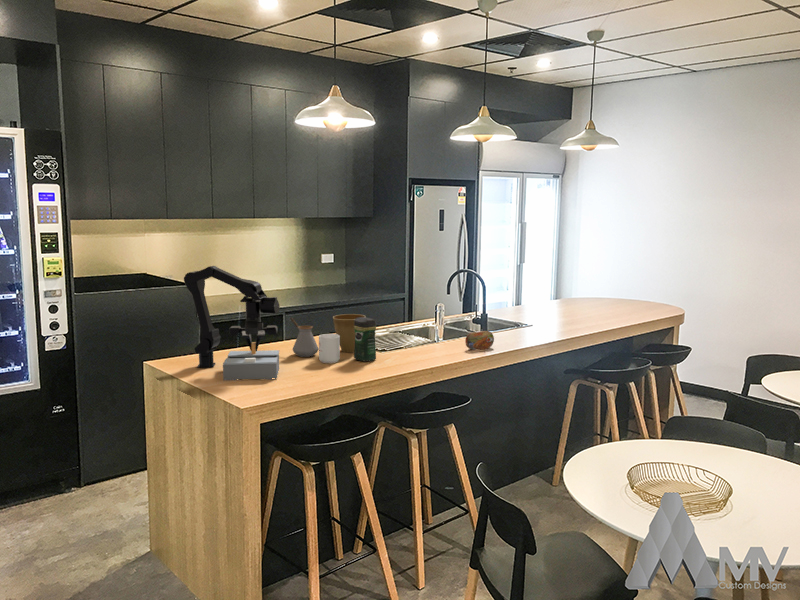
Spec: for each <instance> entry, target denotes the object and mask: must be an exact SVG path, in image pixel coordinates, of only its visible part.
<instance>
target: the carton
mask: <svg viewBox="0 0 800 600" xmlns="http://www.w3.org/2000/svg"><path fill="white" fill-rule="evenodd" d="M275 357H277V363H276V364H237V365H223V364H222V378H223V379H222V380H223V381H238V380H237V379H267V380H273V379H272V378H275V379H274V380H277V379H278V376H277V375H279V372H280V355H278V356H255V357H228V356H227V357H226V358H275ZM278 371H279V372H278ZM276 378H277V379H276Z"/></svg>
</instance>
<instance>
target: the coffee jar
mask: <svg viewBox="0 0 800 600" xmlns="http://www.w3.org/2000/svg"><path fill="white" fill-rule="evenodd" d="M354 329H355V348H354V352H353V358H354V360H357V361H360V362H374V361H375V360H376V359H377V350H376V349H377V348H376V347H377V346H376V331H377V321H376V320H375V319H374V318H370V317H366V316H365V317H359V318H356V319H355V321H354Z"/></svg>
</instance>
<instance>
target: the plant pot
mask: <svg viewBox="0 0 800 600" xmlns="http://www.w3.org/2000/svg"><path fill="white" fill-rule="evenodd" d="M359 317H366V315H364V314H359V313H358V314H356V313H345V314H336V315H333V316H332V320H333V326H334V327H333V328H334V330H335V334H337V335H339V336H340V351H342V352H343V353H354V348H355V329H354V321H355V319H356V318H359Z"/></svg>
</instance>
